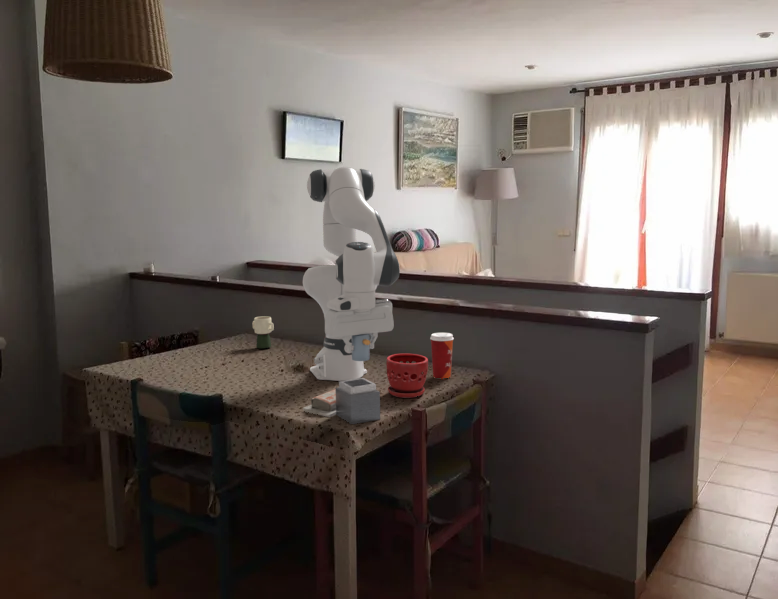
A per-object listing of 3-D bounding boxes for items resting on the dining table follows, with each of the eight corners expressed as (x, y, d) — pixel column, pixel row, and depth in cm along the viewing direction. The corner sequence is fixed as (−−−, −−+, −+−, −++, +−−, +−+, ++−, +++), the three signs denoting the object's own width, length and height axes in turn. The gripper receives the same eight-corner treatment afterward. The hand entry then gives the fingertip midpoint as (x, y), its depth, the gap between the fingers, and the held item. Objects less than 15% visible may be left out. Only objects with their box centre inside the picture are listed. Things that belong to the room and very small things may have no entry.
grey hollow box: (336, 414, 193) (335, 381, 192) (364, 409, 198) (363, 376, 196) (351, 424, 185) (350, 389, 183) (380, 419, 189) (379, 384, 188)
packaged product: (339, 382, 211) (365, 387, 206) (339, 397, 212) (365, 402, 206) (302, 397, 196) (329, 402, 191) (302, 413, 197) (329, 418, 191)
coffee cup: (455, 379, 230) (455, 336, 227) (431, 380, 229) (431, 337, 227) (451, 373, 238) (451, 331, 236) (428, 374, 237) (428, 332, 235)
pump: (348, 358, 190) (348, 334, 189) (364, 356, 192) (364, 332, 191) (360, 363, 184) (359, 338, 183) (376, 361, 186) (376, 336, 185)
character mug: (279, 347, 282) (278, 317, 280) (268, 351, 276) (267, 320, 274) (259, 345, 287) (257, 315, 285) (248, 348, 281) (246, 318, 279)
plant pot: (385, 400, 207) (385, 362, 205) (387, 388, 220) (387, 352, 218) (428, 400, 206) (428, 362, 204) (427, 388, 219) (427, 352, 217)
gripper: (386, 296, 195) (387, 343, 197) (321, 302, 185) (323, 352, 187) (397, 299, 189) (398, 347, 191) (331, 305, 179) (332, 356, 181)
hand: (360, 349), depth 189 cm, fingers closed on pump, 5 cm apart
